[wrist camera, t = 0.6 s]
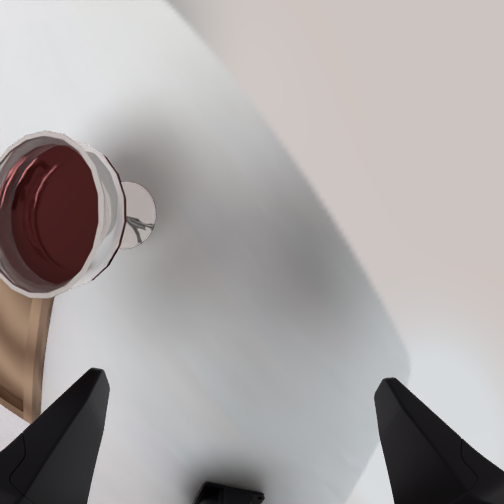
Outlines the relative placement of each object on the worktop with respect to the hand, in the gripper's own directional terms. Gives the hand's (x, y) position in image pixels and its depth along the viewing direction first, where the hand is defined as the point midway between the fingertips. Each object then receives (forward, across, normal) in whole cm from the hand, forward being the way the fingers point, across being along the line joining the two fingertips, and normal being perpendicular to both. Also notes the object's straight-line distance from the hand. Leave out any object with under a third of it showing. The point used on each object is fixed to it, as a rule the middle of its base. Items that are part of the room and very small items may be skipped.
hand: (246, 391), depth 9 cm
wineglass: (+15, +9, +1) cm, 17 cm away
